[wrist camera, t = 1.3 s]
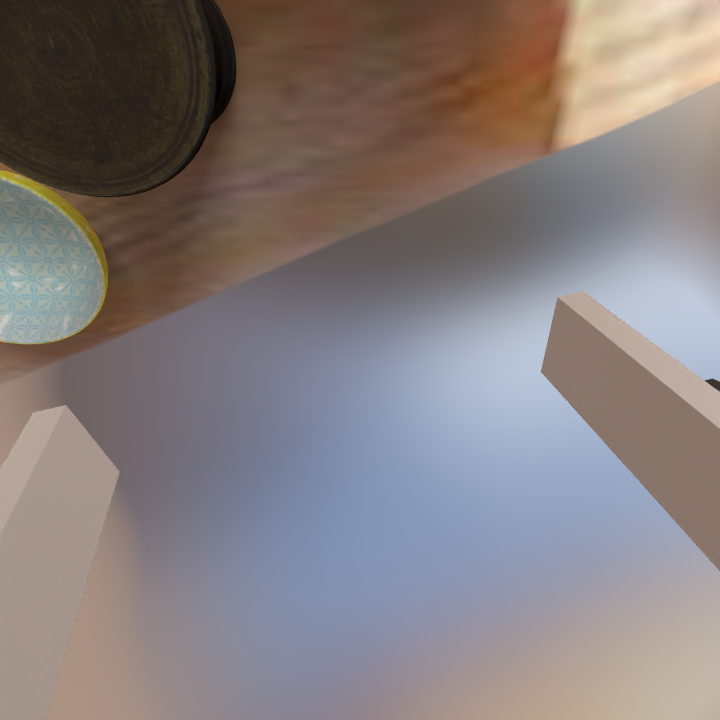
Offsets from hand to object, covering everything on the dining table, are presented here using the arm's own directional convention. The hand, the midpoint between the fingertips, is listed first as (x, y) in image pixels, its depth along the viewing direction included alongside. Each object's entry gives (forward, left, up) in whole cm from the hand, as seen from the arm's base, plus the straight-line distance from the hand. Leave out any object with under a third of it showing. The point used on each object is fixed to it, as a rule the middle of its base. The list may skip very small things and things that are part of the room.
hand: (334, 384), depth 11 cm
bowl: (+2, -18, -26) cm, 31 cm away
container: (-8, -6, -26) cm, 27 cm away
